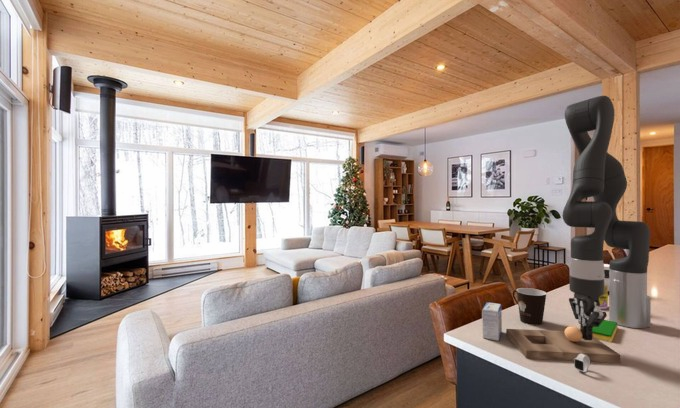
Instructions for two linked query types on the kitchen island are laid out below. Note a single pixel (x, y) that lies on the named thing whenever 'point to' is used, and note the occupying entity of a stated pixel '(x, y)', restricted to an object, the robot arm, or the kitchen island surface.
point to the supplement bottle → (604, 296)
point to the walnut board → (559, 346)
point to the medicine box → (492, 321)
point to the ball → (573, 334)
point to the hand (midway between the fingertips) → (586, 338)
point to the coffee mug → (530, 305)
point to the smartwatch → (582, 362)
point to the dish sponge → (605, 330)
